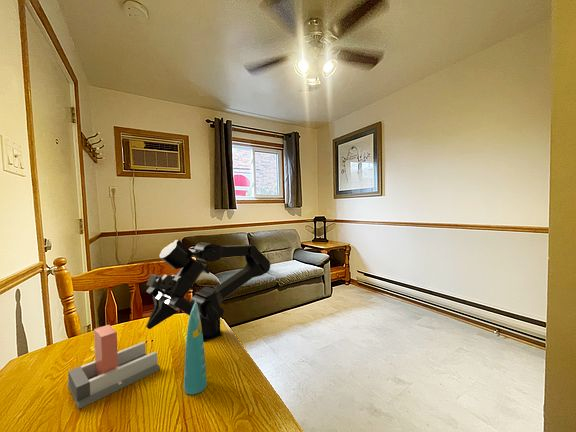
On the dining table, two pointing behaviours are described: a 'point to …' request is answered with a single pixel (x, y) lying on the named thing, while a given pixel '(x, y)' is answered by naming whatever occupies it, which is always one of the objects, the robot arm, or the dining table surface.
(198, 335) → the tube
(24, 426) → the dining table surface
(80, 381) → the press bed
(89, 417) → the dining table surface
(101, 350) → the plug
